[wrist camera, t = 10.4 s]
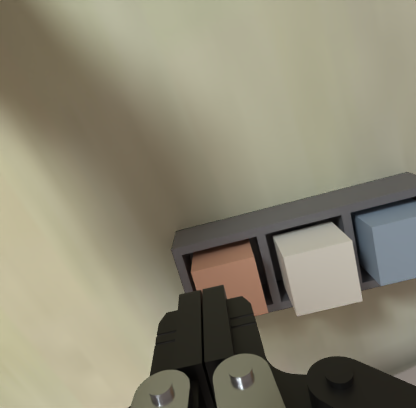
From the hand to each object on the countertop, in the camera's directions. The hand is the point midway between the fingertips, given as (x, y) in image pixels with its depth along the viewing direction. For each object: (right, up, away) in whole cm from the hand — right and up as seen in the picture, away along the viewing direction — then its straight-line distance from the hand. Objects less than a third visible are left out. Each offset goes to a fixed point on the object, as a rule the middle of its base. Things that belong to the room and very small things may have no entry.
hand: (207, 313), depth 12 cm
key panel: (+8, 0, +22) cm, 24 cm away
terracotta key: (+2, -2, +20) cm, 21 cm away
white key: (+8, -1, +19) cm, 21 cm away
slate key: (+15, +1, +19) cm, 25 cm away
